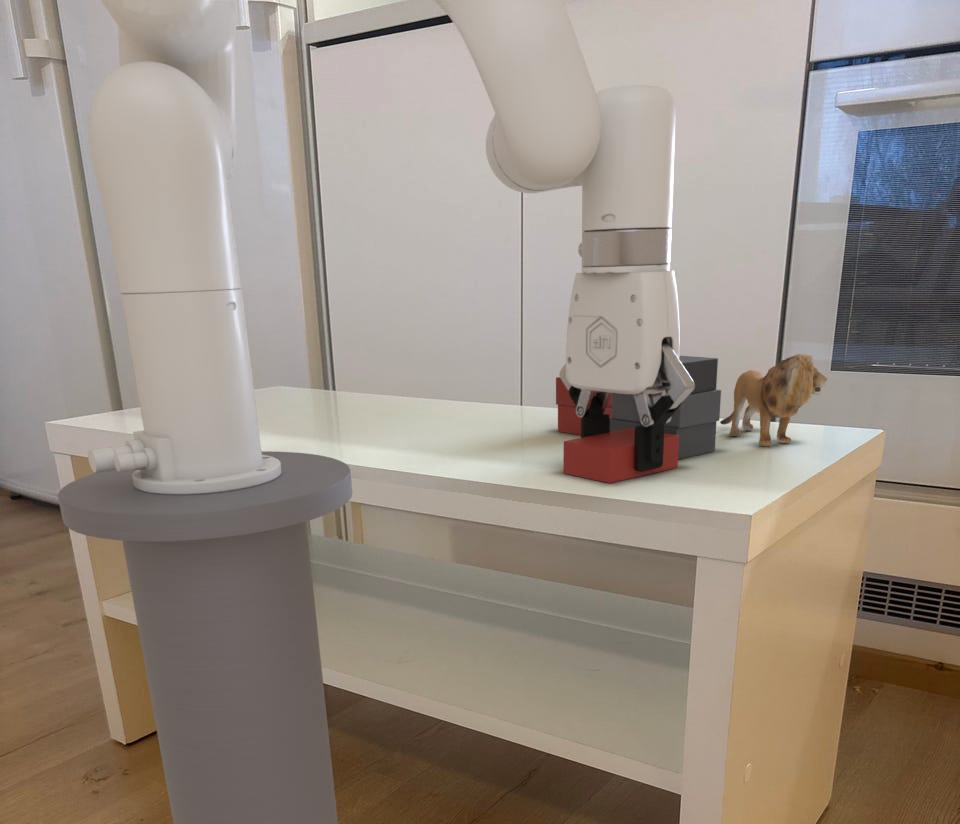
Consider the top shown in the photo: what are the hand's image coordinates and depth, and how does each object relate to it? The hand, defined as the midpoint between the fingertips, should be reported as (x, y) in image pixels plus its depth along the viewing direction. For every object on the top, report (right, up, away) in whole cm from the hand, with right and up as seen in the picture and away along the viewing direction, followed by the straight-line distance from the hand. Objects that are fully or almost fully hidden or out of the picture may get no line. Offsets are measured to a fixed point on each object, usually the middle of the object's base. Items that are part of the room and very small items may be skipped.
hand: (621, 462), depth 87 cm
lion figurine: (+17, +5, +12) cm, 22 cm away
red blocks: (+1, +8, +21) cm, 23 cm away
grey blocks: (+5, +3, +9) cm, 11 cm away
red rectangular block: (0, -1, 0) cm, 1 cm away
